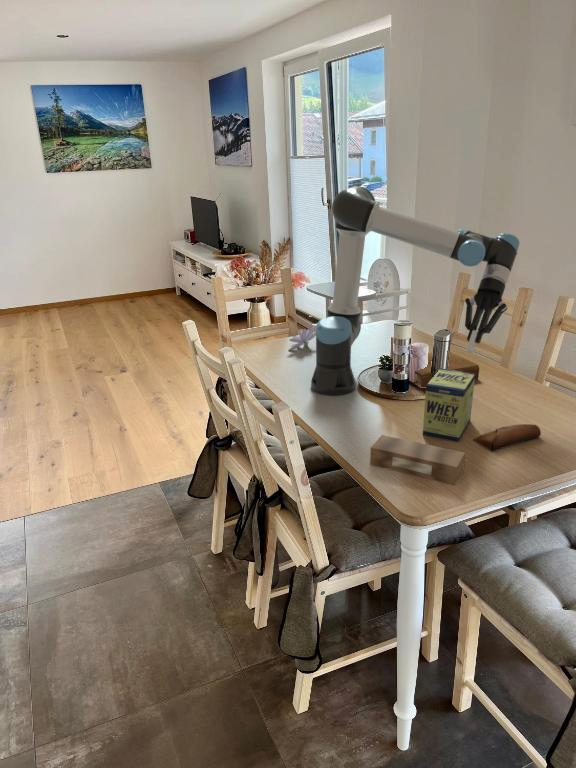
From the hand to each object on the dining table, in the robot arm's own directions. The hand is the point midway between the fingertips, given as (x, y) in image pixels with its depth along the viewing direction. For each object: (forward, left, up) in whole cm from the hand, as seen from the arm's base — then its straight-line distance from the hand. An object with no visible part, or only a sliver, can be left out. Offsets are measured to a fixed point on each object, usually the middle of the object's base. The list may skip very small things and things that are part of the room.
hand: (469, 351), depth 179 cm
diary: (-16, +22, -19) cm, 33 cm away
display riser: (-2, -44, -18) cm, 48 cm away
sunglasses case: (+16, -18, -19) cm, 30 cm away
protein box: (-1, -18, -18) cm, 26 cm away
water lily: (-72, +28, -18) cm, 79 cm away
